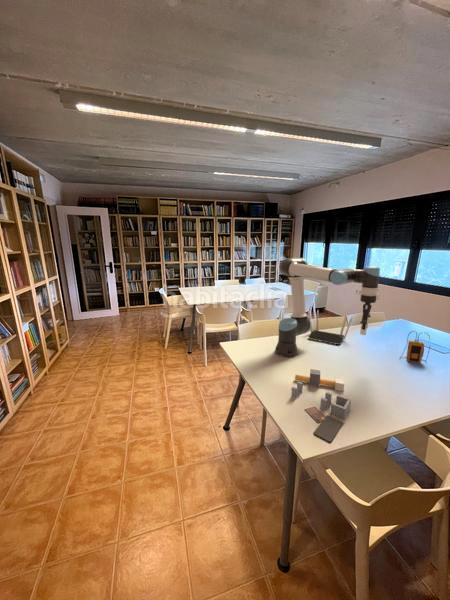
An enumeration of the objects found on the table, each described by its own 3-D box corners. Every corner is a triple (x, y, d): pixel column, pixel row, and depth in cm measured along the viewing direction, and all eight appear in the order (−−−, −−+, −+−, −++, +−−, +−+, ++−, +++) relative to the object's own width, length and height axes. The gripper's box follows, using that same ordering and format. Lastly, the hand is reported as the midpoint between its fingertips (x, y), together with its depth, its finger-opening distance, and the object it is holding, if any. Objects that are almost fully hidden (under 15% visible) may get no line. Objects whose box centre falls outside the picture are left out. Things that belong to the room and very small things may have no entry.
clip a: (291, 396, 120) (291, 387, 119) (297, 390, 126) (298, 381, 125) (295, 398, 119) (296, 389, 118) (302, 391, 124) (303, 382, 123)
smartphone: (343, 422, 102) (330, 442, 91) (343, 424, 102) (330, 444, 92) (327, 414, 107) (312, 433, 96) (327, 416, 107) (312, 435, 96)
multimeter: (423, 357, 161) (428, 328, 157) (428, 364, 152) (433, 333, 148) (396, 354, 167) (400, 326, 163) (399, 360, 158) (404, 330, 154)
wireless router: (301, 338, 197) (302, 314, 193) (309, 330, 216) (311, 308, 211) (347, 347, 178) (350, 321, 174) (352, 338, 197) (354, 313, 193)
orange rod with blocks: (294, 382, 133) (295, 370, 131) (295, 378, 137) (296, 366, 136) (343, 391, 124) (344, 379, 123) (342, 386, 129) (344, 374, 128)
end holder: (330, 413, 108) (331, 403, 107) (336, 404, 115) (337, 394, 113) (344, 419, 104) (345, 409, 103) (350, 409, 111) (351, 399, 110)
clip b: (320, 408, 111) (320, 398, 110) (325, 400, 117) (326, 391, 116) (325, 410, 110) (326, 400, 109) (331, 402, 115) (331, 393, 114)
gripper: (375, 299, 124) (370, 339, 128) (377, 291, 144) (373, 326, 148) (358, 297, 128) (353, 336, 132) (363, 290, 148) (359, 324, 153)
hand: (364, 331), depth 140 cm, fingers open, 13 cm apart
